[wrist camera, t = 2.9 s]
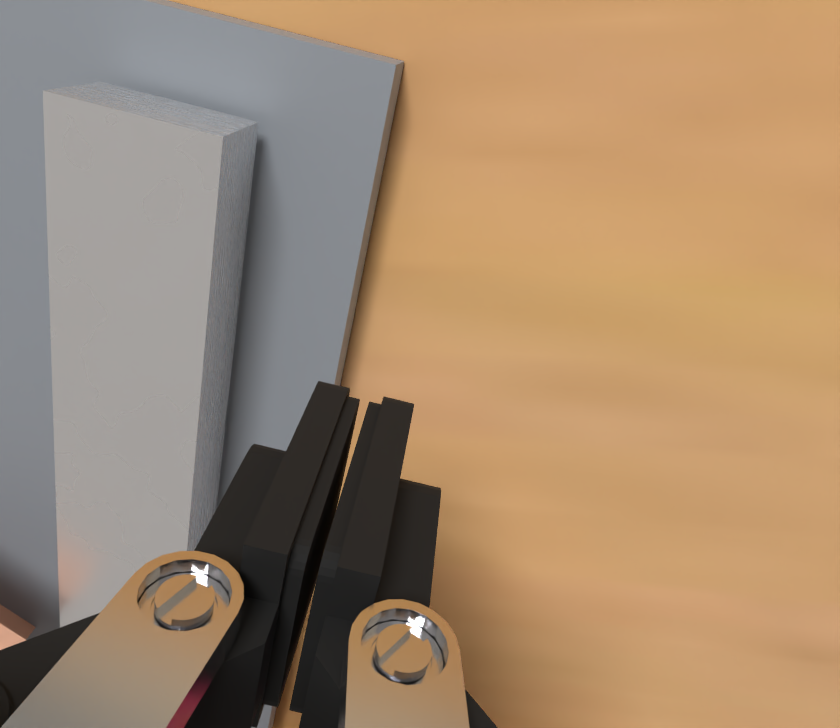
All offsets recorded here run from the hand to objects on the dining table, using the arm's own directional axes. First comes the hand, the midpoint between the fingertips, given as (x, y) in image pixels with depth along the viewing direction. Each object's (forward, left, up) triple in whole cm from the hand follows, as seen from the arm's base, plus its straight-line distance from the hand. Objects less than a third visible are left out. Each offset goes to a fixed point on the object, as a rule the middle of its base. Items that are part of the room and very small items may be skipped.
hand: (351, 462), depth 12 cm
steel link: (+7, +8, -8) cm, 13 cm away
